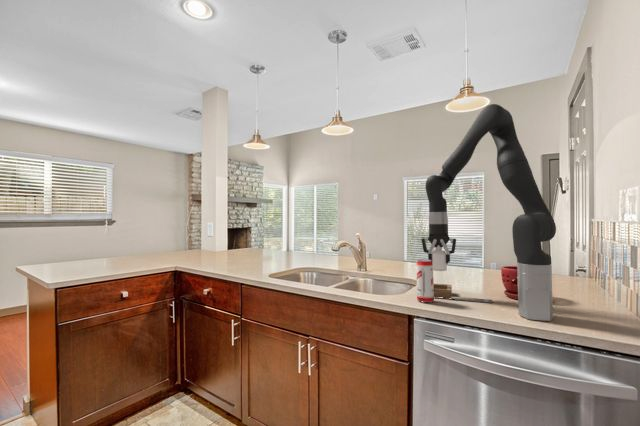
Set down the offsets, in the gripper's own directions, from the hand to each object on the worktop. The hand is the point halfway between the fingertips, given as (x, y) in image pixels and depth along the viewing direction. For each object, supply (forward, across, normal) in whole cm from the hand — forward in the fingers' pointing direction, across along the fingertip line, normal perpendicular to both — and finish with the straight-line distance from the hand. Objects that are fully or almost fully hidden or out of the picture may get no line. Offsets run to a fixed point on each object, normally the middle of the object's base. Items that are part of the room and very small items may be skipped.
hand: (439, 262), depth 131 cm
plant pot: (+14, +30, +7) cm, 34 cm away
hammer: (+13, +7, -1) cm, 15 cm away
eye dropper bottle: (+3, 0, 0) cm, 3 cm away
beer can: (+14, -5, -12) cm, 19 cm away
